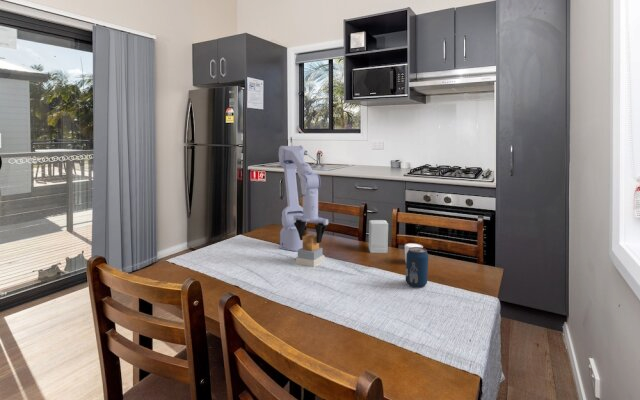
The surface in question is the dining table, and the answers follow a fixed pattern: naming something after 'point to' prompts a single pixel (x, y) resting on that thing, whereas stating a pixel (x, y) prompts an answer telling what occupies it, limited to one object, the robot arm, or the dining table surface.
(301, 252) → the slate top block
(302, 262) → the cream base block
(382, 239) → the supplement box
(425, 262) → the soda can
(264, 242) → the dining table surface
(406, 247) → the white cylinder
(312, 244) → the orange block
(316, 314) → the dining table surface
